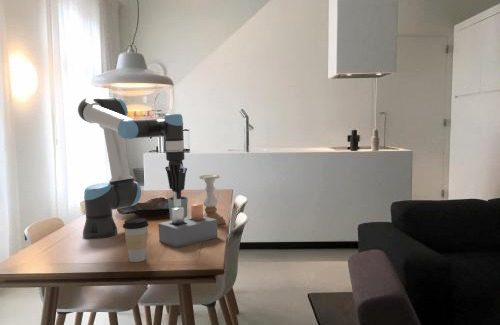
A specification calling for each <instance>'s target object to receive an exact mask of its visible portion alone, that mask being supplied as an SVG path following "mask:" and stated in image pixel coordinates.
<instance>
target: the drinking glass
mask: <svg viewBox="0 0 500 325" xmlns="http://www.w3.org/2000/svg"><path fill="white" fill-rule="evenodd" d="M167 201H168V209H169V210H168V211H169V221H172V208H176V207H174V198H173V196H172V197H168V198H167ZM188 202H189V198H188V197H187V196H181V206H179V207H182V208H184V218H186V217H188Z"/></svg>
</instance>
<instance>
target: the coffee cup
mask: <svg viewBox="0 0 500 325" xmlns="http://www.w3.org/2000/svg"><path fill="white" fill-rule="evenodd" d="M148 227H149V221H147V219H146V218H143V217H141V218H140V217H138V218H137V217H136V218H130V219H125V221H124V223H123V224H122V228H123V229H124V237H125V243H126V248H127V252H128V259H129V262H131V263H139V262H144V261H145V260H146V254H147V252H146V251H147V243H148V242H147V241H148V240H147V239H148Z"/></svg>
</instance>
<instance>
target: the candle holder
mask: <svg viewBox="0 0 500 325" xmlns="http://www.w3.org/2000/svg"><path fill="white" fill-rule="evenodd" d="M220 177H221V176H220V175H218V174H204V175H200V176H198V178H199V179H200V180H203V181H204V182H205V187H204V190H205V192H206V195H205V196H204V198H203V200H202V201H203V202H202V204H203V206H204V207H205V208H204V212H205V213H203V216H205V217H209V218H213V219H217V226H218V225H225V224H226V219H224V216H222V215H220V214H219V213H218V212H217V211H218V209H217V207H216V206H218V202H219V201H218V199H217V197H216V196H215V194H214V192H215V190H216V187H215V185H214V184H215V181H216V180H217V179H220Z"/></svg>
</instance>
